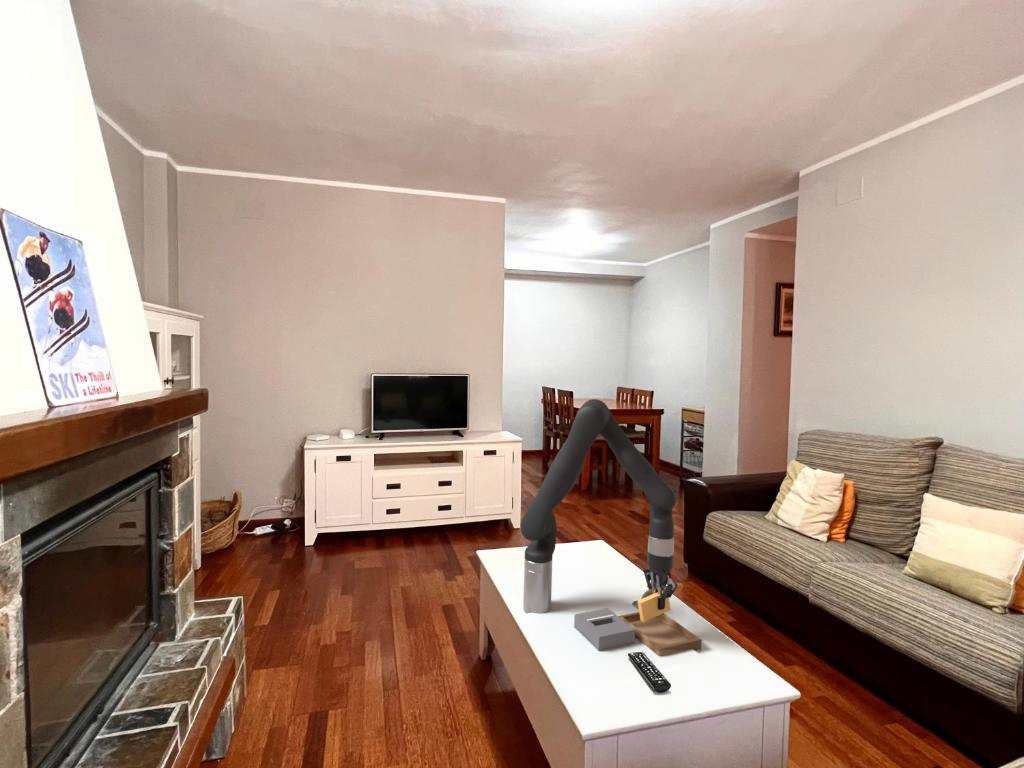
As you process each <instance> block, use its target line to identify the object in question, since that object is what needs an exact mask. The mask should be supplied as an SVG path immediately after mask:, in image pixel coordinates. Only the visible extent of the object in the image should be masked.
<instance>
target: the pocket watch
mask: <svg viewBox="0 0 1024 768" xmlns="http://www.w3.org/2000/svg"><path fill="white" fill-rule="evenodd" d="M646 587H647V588H648V585H647V584H646ZM650 595H652V590H651V589H648V590H646V591H645V592H643V594H642V595H641V598H640V600H641V599H643V598H645V597H647V596H650ZM631 605H632V606H633V607H635V608H636V609H637V610H639V607H638V600H635V601H633V602H632V603H631Z"/></svg>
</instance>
